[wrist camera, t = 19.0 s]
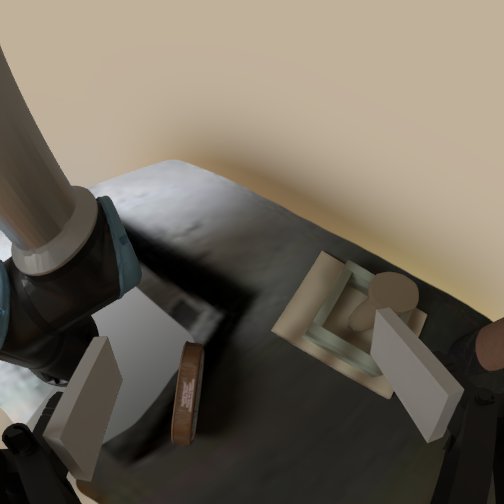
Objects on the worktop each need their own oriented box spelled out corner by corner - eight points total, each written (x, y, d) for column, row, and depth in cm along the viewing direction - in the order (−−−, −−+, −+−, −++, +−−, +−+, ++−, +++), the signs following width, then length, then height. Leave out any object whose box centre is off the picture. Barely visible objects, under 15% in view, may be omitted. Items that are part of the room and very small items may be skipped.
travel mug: (453, 385, 44) (533, 365, 26) (441, 346, 47) (517, 311, 29) (481, 368, 45) (558, 342, 27) (469, 331, 48) (542, 293, 30)
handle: (372, 342, 47) (417, 316, 33) (334, 334, 47) (369, 305, 34) (376, 313, 49) (419, 278, 35) (339, 305, 49) (373, 267, 36)
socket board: (271, 330, 49) (274, 322, 44) (320, 253, 55) (327, 237, 50) (387, 398, 43) (402, 397, 38) (424, 316, 49) (440, 306, 45)
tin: (190, 346, 47) (179, 335, 40) (210, 349, 47) (203, 338, 40) (177, 440, 41) (164, 447, 33) (198, 443, 40) (188, 452, 33)
